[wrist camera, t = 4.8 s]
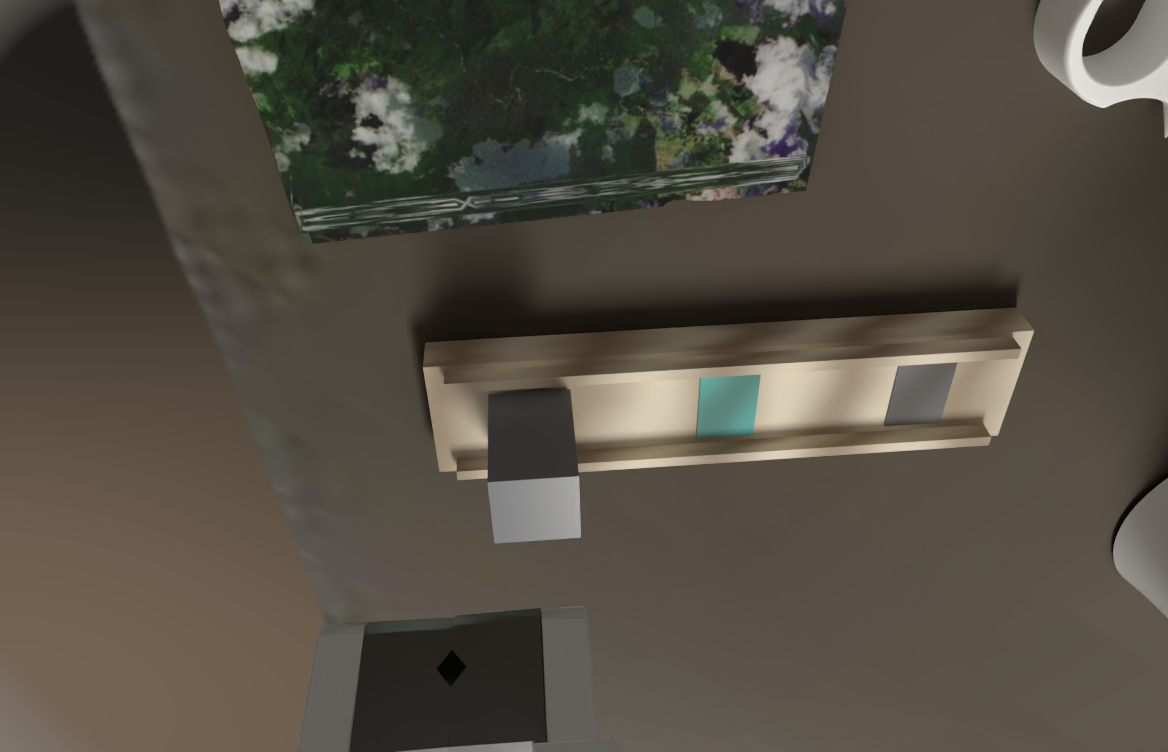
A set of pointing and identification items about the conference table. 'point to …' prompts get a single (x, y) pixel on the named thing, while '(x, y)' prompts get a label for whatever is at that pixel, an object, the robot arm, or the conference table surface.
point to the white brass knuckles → (1105, 53)
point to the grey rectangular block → (533, 466)
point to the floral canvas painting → (530, 105)
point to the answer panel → (741, 388)
